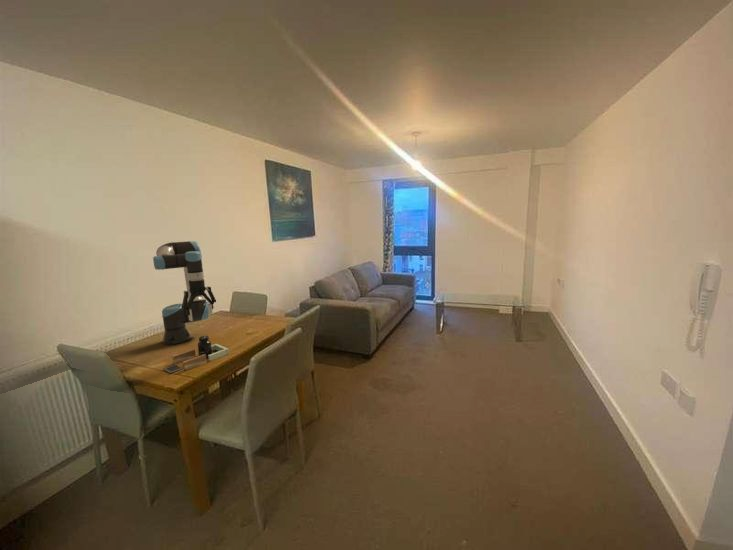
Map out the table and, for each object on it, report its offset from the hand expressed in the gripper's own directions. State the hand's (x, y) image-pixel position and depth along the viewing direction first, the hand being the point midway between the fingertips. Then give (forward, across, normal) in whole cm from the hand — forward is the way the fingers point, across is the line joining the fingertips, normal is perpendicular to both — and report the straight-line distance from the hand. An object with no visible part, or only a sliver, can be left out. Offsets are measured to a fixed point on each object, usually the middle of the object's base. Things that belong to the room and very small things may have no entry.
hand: (201, 317), depth 172 cm
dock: (+22, +2, -4) cm, 23 cm away
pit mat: (+22, -19, -4) cm, 29 cm away
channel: (+22, -10, -4) cm, 25 cm away
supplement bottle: (+22, -2, -4) cm, 23 cm away
